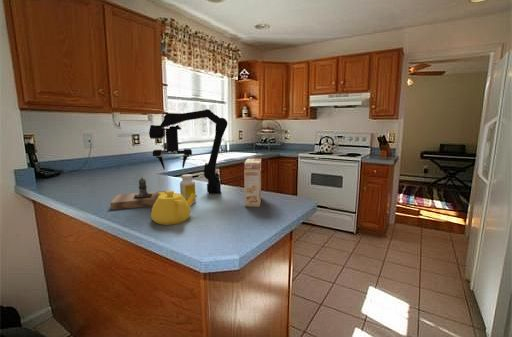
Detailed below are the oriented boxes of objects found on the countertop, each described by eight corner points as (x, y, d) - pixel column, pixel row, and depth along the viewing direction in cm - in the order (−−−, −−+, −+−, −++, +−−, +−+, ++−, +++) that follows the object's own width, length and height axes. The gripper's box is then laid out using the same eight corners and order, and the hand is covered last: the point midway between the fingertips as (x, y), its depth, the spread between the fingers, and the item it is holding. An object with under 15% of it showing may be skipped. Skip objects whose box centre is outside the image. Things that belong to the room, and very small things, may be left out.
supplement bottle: (198, 201, 123) (197, 174, 121) (189, 205, 117) (188, 177, 115) (187, 199, 126) (186, 173, 124) (177, 203, 120) (176, 175, 118)
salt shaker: (136, 201, 123) (134, 176, 121) (149, 199, 126) (148, 175, 124) (137, 205, 118) (135, 178, 116) (151, 203, 120) (149, 177, 118)
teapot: (211, 218, 101) (210, 190, 99) (165, 232, 88) (163, 200, 86) (184, 207, 115) (183, 182, 113) (142, 217, 102) (140, 189, 101)
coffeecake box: (260, 206, 115) (260, 162, 111) (243, 206, 115) (243, 162, 112) (261, 197, 129) (261, 158, 126) (247, 197, 130) (246, 158, 127)
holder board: (170, 196, 132) (170, 190, 131) (170, 204, 118) (169, 198, 118) (118, 200, 125) (117, 194, 124) (111, 209, 111) (110, 202, 111)
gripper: (190, 137, 142) (191, 165, 145) (153, 138, 137) (155, 167, 140) (191, 138, 132) (192, 169, 134) (151, 139, 126) (153, 171, 129)
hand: (173, 169), depth 135 cm, fingers open, 9 cm apart
